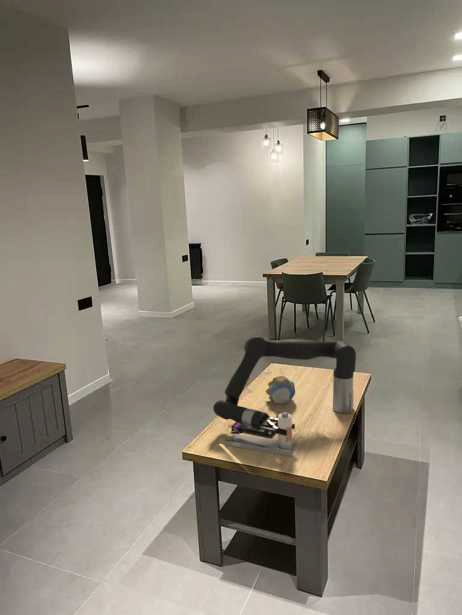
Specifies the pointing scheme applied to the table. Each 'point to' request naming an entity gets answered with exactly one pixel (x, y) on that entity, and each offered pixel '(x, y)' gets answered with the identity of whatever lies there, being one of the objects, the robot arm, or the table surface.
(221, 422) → the table surface
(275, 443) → the shelf board
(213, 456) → the table surface
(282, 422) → the cream bottle
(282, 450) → the rail
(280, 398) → the decorative rock
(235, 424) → the box
